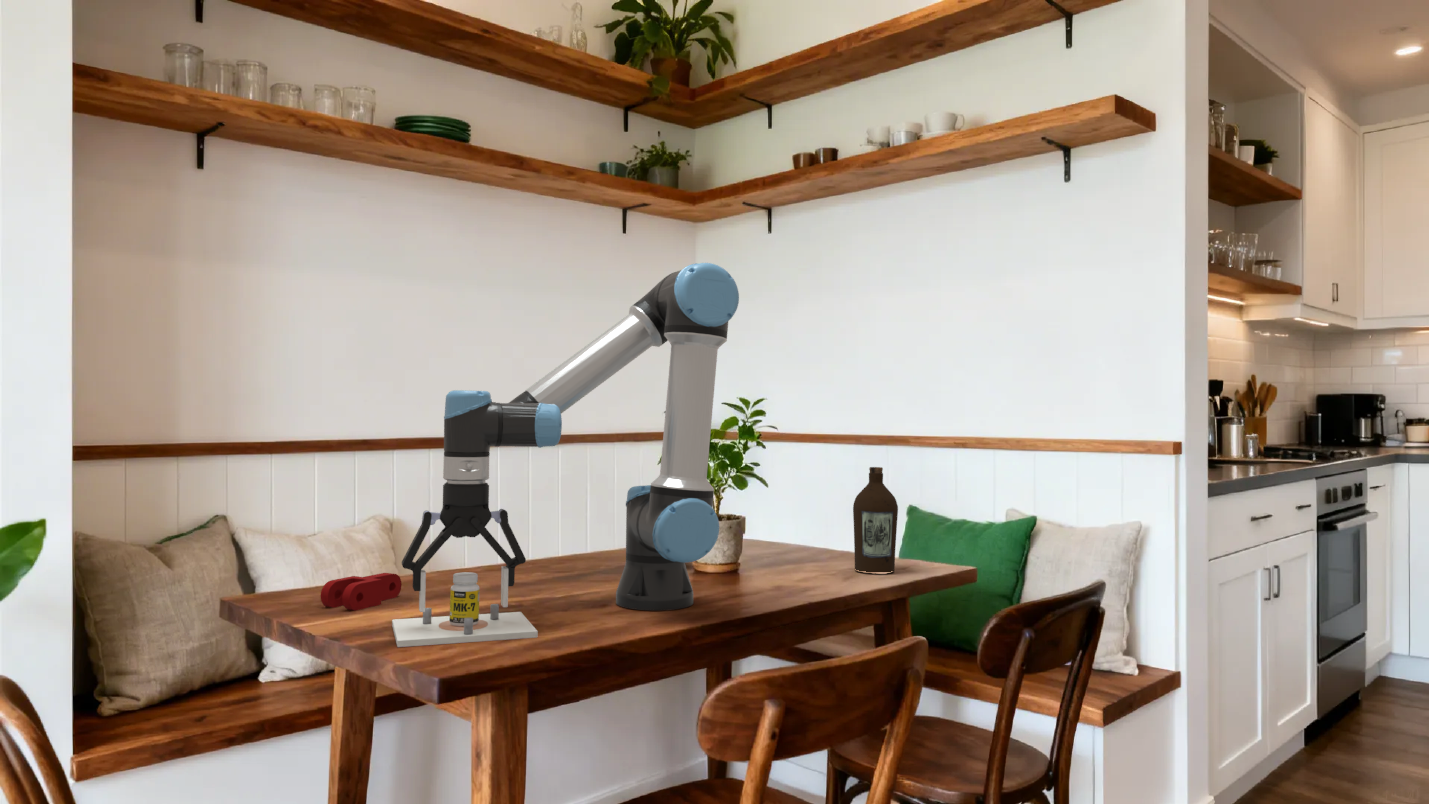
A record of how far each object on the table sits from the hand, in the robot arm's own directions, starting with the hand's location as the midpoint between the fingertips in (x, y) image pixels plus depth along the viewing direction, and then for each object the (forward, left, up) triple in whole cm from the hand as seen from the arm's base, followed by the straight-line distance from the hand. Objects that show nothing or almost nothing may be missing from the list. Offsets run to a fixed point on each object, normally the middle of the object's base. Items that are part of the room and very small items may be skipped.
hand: (463, 608), depth 161 cm
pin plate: (0, 0, -4) cm, 4 cm away
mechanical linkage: (+14, -30, -4) cm, 33 cm away
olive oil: (-100, -34, -4) cm, 106 cm away
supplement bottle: (0, 0, -3) cm, 3 cm away
